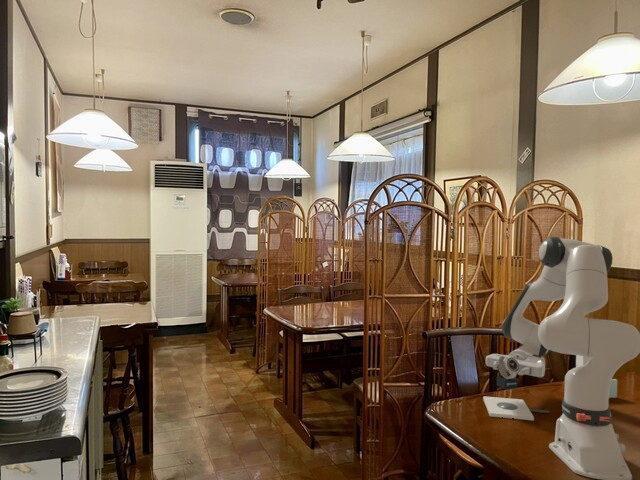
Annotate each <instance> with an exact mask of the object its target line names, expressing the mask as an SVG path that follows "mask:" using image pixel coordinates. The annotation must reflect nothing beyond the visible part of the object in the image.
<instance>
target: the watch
mask: <svg viewBox="0 0 640 480" xmlns="http://www.w3.org/2000/svg"><path fill="white" fill-rule="evenodd" d="M503 355H504V356H500V357H499V360H498V367H499V369H498V371H499V373H500V375H499V376H498V375H497V376H496V386H498V387H500V388H501V389H503V390H510V389H517V388H519V387H518V386H519V379H518V378H516V376H517V375H518V370H519V363H518V362H517V360H516V359H514V358H513V357H511V356H510V355H509V354H508V355H507V354H503ZM504 358H505V365H504V363H503V361H504ZM505 366H506V368H507V370H506V369H505ZM507 373H509V374H507Z"/></svg>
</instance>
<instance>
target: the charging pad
mask: <svg viewBox="0 0 640 480" xmlns="http://www.w3.org/2000/svg"><path fill="white" fill-rule="evenodd" d="M482 400H483V402H484V404H485V407H486V409H487V410H486V411H487V412H488V415H489V417H494V418H502V417H503V418H502V419H512V418H514V420H523V421H524V420H525V421H535V416H534V415H533V413H542V414H543V413H544V414H549V413H550V411H549V410H545V409H544V410H543V409H542V410H541V409H534V408H533V409H532V408H529V407H528V405H527V404H526V402H525V400H524V399H519V398H509V397H508V398H506V397H494V396H483V399H482ZM532 412H533V413H532Z"/></svg>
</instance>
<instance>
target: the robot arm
mask: <svg viewBox="0 0 640 480" xmlns="http://www.w3.org/2000/svg"><path fill="white" fill-rule="evenodd" d="M538 255H539V256H538V258H539V261H540V263H541V264H542V266H543V265H544V266H543V268H542V270H541V273H540V276H539V277H538V278H537V279H536V280H535V281H534V280H533V281H530V282H529V283H527V285H525V287H524V288H523V290H522V291H521V293H520V294H519V296H518V298H517V300H516V301H515V303H514V305H513V307H512V309H511V310H510V311H509V313H508V314H507V316H506V317H505V319H504V320H503V322H502V324H501V330H502V334H503V335H504V337H506V338H508V339H510V340H513V341H515V342H517V343H519V344H521V346H519V347H517V348H516V349H514V350H513V351H511V352H510V353H509V354H508V355H510V356H511V357H513V358H514V359H516V360H517V362H518V363H519V370H518V373H517V375H519V376H524V375H527V376H532V377H537V378H544V376H545V372H546V356H547V355H548V353H549V351H552V352H554V353H556V352H557V353H559V354H562V355H563V354H564V355H572V356H573V355H574V356H576V355H579V356H587V357H590V360H589V361H588V363H586V364H585V365H582V366H579V367H576V366H575V367H573V368H571V369H570V370H567V372H566V374H565V375H564V389H563V390H564V393H563V395H564V397H563V398H562V402H561V407H562V409H561V411H562V415H560V416H559V418H557V419H556V423H555V424H556V425H555V434H554V435H555V436H554V442H553V441H552V442H550V443H549V445H548V448H549V449H550V451H552V452H553V453H554V455H556V456H557V457H558V459H560V460H561V461H562V462H563V464H565V465H566V466H567V467H568V468H569V469H570V470H571V471H572V472H573V473H574V474H578V475H580V476H583V477H587V478H591V479H597V480H633V475H632V473H631V470H630V468H629V467H628V463H627V462H626V460H625V458H624V456H623V454H625V453H626V446H625V445H626V444H625V443H620V442H618V440H619V439H620V438H619V433H616V432H615V430H614V425H613V424H612V412H611V408H610V406H609V400H610V398H609V390H610V384H611V380H612V379H613V378H614V375H615V373H617V371H619V369H620V368H621V367H622V366H623V365H625V364H626V363H628V362H629V361H631V360H634V359H635V358H637V356H638V355H639V354H640V332H639V330H638V329H637V327H636V326H634V325H633V324H630V323H625V322H622V321H617V320H613V319H602V318H601V319H600V318H591V317H589V318H588V317H585V316H587V315H588V314H591V313H593V312H596V311H598V310H601V309H602V308H603V307H604V306H606V304H607V303H608V302H609V301H608V300H609V287H608V285H609V284H608V273H609V271H610V270H611V268H612V265H613V261H614V260H613V253H612V252H611V249H609V248H607V247H605V246H602V245H600V244H597V245H596V244H593V243H590V242H586V241H581V240H578V239H573V238H561V237H559V236H549V237H547V238H546V239H544V240H543V241H542V243H541V244H540V246H539V250H538ZM561 300H563V302H562V303H561V305H560V307H558V309H557V310H555V311H554V312H553V313H552V314H550V315H548V316H546V317H545V318H544V319H542V321H541V322H540V324H539V323H536V322H533V321H532V320H529V319H528V318H525V317H524V315H523V314H524V312H525V311H526V309H527V308H528V306H529V305H530V303H531V302H532V301H544V302H556V301H557V302H558V301H561ZM504 355H505V354H502V353H501V354H499V353H491V354H489V355H486V356H485V365H486V366H487V367H490V368H492V369H493V370H497V371H499V367H498V360H499V357H500V356H504ZM503 363H504V365H505V358H504V361H503ZM505 369H506V371H508V370H507V368H506V366H505Z"/></svg>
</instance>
